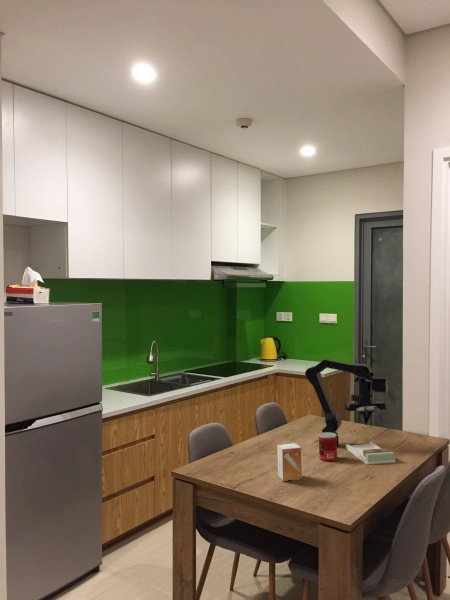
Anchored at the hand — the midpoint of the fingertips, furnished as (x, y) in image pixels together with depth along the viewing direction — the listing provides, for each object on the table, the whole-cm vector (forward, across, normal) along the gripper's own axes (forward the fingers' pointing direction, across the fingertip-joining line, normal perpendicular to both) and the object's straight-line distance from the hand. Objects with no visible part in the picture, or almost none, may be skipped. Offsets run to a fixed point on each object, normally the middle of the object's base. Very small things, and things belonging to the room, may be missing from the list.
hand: (365, 424), depth 237 cm
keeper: (+11, +1, +15) cm, 18 cm away
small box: (+12, +43, +30) cm, 54 cm away
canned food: (+12, +21, +10) cm, 26 cm away
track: (+12, +1, +8) cm, 14 cm away
